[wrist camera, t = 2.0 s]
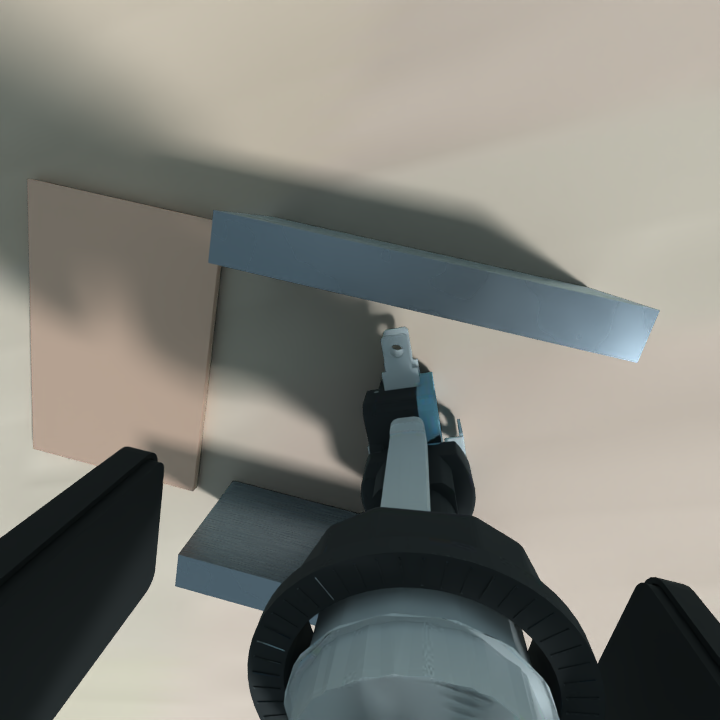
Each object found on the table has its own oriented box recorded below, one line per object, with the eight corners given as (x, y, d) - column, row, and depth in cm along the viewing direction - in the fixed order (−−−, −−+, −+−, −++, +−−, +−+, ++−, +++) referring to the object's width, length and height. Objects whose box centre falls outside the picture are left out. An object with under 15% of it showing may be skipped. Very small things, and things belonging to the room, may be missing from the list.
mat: (226, 222, 14) (221, 222, 14) (196, 487, 17) (192, 491, 17) (35, 179, 14) (27, 178, 14) (39, 444, 17) (33, 448, 17)
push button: (319, 337, 15) (136, 533, 5) (482, 310, 14) (628, 490, 4) (357, 508, 16) (272, 896, 7) (504, 495, 15) (645, 922, 6)
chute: (589, 287, 13) (659, 310, 9) (482, 574, 16) (502, 677, 13) (270, 216, 14) (213, 210, 10) (229, 506, 17) (175, 586, 13)
